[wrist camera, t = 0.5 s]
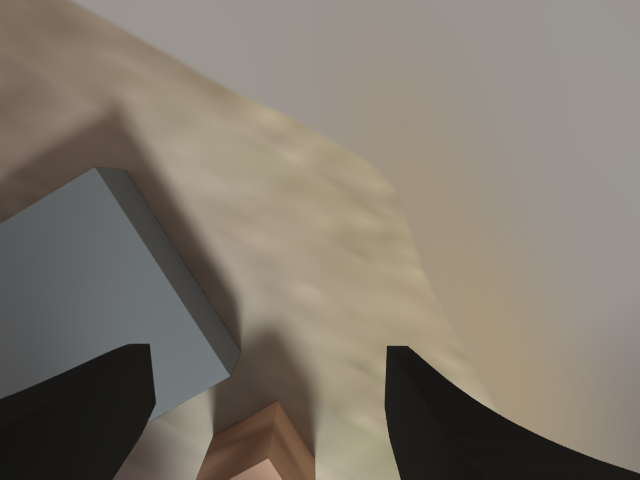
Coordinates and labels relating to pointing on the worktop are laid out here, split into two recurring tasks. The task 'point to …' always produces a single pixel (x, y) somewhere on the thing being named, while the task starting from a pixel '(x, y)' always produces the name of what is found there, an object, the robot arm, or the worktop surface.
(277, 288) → the worktop surface
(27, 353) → the charcoal stand
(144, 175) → the worktop surface
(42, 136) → the worktop surface
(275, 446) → the terracotta block
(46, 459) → the robot arm
